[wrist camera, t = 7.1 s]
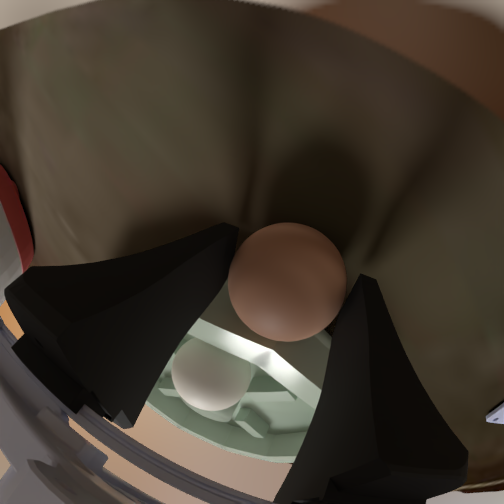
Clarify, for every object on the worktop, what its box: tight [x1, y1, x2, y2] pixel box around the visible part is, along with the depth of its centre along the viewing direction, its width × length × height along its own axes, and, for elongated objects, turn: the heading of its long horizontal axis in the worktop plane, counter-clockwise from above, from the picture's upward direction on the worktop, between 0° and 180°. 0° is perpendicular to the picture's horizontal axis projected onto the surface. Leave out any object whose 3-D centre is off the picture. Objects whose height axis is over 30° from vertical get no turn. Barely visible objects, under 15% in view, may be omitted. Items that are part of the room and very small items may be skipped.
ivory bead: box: [171, 337, 251, 411], centre depth 13 cm, size 4×4×4 cm
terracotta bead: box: [228, 222, 347, 342], centre depth 10 cm, size 4×4×4 cm
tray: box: [145, 278, 332, 463], centre depth 17 cm, size 18×18×3 cm
